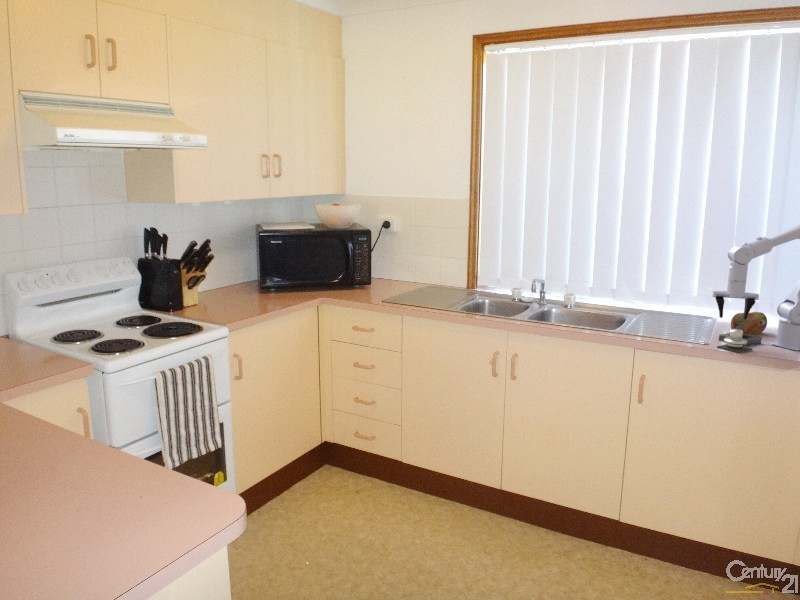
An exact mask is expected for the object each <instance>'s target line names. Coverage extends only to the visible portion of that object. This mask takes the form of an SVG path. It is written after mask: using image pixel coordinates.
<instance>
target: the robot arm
mask: <svg viewBox="0 0 800 600" xmlns="http://www.w3.org/2000/svg"><path fill="white" fill-rule="evenodd" d="M795 240H800V224H797V225H796V226H793V227H791V228H789V229H787V230H784V231H782V232H780V233H777V234H775V235H773V236H771V237H769V238H768V237H765V236H763V237H762V236H757V237H756V238H755V239H754V240H752V241H749V242H743V243H742V246H741V245H736V246H733V247H731V249H730V250H729V252H728V253H727V258H728V259H729V269H728V279H727V286H726V287H727V288H726V290H712V297H713V298H715V301H716V304H717V307H718V312H719V318H720V319H722V318H723V316H724V305H725V298H726V299H727V298H729V299H740V300H741V299H744V309H743V313H744V315H743V319H745V320H746V319H747V316H748V313H749V312H751V309H752V308H753V307H754V305H755V304H756V301H759V298H760V294H759V293H756V292H755V293H754V292H753V293H752V292H746V285H747V279H748V269H749V268H748V267H749V263H750V262H751V261H752V260H753V259H755V258H758V257H761V256H763V255H767V254H769V253H771V251H772V250H773V248H774V247H778V246H780V245H782V244H786V243H789V242H791V241H795ZM776 308H777V309H776V312H777V315H778V316H779V320H778V328H777V334H776V341H774V342H771V343H770V345H772V346H776V347H779V348H784V349H789V350H793V351H795V352H796V351H800V276H798V279H797V281H796V283H795V285H794V287H793V290H792V291H791V293H789V294H788V295H786V296H785V298H784V299H783V301H781V302H780V303H779V304H778V306H777V307H776Z"/></svg>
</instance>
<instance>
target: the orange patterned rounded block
mask: <svg viewBox="0 0 800 600" xmlns="http://www.w3.org/2000/svg"><path fill="white" fill-rule="evenodd" d="M743 315H744V312H738V313H736V314H734V315H733V316H732V318H731V320H730V329H740V330H743V334H747V335H758V334H761V333H763V332H764V331H765V330H766V328H767V325H768V319H767V318H768V317H767V315H766V314H764V312H759V311H749V313H748V316H747V319H746V320H745V319H743Z"/></svg>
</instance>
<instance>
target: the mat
mask: <svg viewBox="0 0 800 600" xmlns="http://www.w3.org/2000/svg"><path fill="white" fill-rule="evenodd" d="M716 348H717V349H721V350H724V351H725V350H726V351H729V352H733V353H737V354H741V353H746V352H750V351H753V348H751V347H749V346H745V347H744V346H743V347H742V349H733V348H729V347H727V343H726V344H721V345H717V346H716Z"/></svg>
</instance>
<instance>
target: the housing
mask: <svg viewBox="0 0 800 600" xmlns="http://www.w3.org/2000/svg"><path fill="white" fill-rule="evenodd" d="M729 336H730V332H728V333H727V332H726V333H723V334H719V335H718V341H720V342H721V341H722V342H724V338H726V337H729ZM742 339H745V340H747V344H745V345H743V346H744V347H749V346H755V345H758V344H762V339H763V338H762V337H760V336H756V335H753V334H749V335H747V334H743V336H742Z"/></svg>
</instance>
